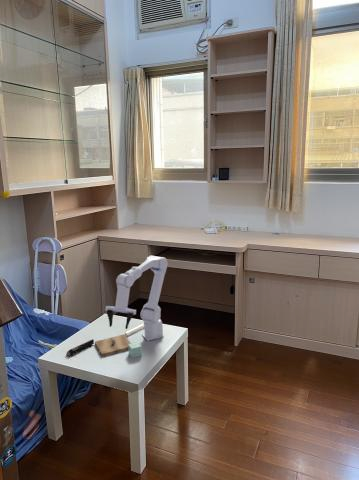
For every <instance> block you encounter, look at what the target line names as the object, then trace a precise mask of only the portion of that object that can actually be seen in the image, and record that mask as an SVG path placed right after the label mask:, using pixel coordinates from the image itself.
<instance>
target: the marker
mask: <svg viewBox="0 0 359 480" xmlns="http://www.w3.org/2000/svg"><path fill="white" fill-rule="evenodd" d="M142 329H144V323H142V324H140V325H137V326H136V327H134V328H132V329H130V330H128V331H126V332H125V333H124V335H126V337H129V336H131V335H133V334H134V333H135V334H136V332H139V331H140V330H142Z"/></svg>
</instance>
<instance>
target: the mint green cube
mask: <svg viewBox="0 0 359 480" xmlns="http://www.w3.org/2000/svg"><path fill="white" fill-rule="evenodd" d="M130 343H131V342H130ZM128 348H129V350H128V354H129V356H130V357H131V358H132V359H134V358H138V357H142V356H143V351H142V345H141V343H140V342H139V341H136V342H132V343H131V344H128Z"/></svg>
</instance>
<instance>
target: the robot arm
mask: <svg viewBox="0 0 359 480" xmlns="http://www.w3.org/2000/svg"><path fill="white" fill-rule="evenodd" d="M168 263H169V262H168V260H167V258H166V257H163V256H155V255H149V256H147V257H146V259H145V260H144V262H142V263H141V264H140V265H138V266H132V267H131V268H130V269H128V270H126V272H124V273H120V274H119V275H117V277H116V279H115V282H116V288H117V291H116V299H115V304H114V305H115V306H112V305H110V306H109V305H106V306H105V308H104V310H105V311H106V314H107V315H106V316H107V317H108V322H109V324H108V325H109V327H110V328H111V327H112V326H113V319H114V313H115V312H116V313H123V314H126V322H125V329H126V330H127V329H128V327H129V324H130V321H131V320H132V318H133V317H134V315H137V309H133V308H129V307H128V305H129V298H130V291H131V287H132V286H133V285H134V283H135V281H136V280H138V279H139V278H140V277H141V276H142V275H143V272H145V271H147V270H149V269H150V270H151V271H152V272H153V274H154V276H153V281H152V284H151V289H150V292H149V297H148V300H147V302H146V303H145V304H144V305H143V307H142V309H141V311H140V318H141V319H142V322H143V324H144V328H143V329H144V330H143V331H144V333H142V337H143V338H144V339H145V340H146V341H147V342H149V341H152V340H157V339H161V338H163V337H164V334H163V333H164V332H163V331H164V330H163V321H162V319H161V315H162V314H161V311H162V309H161V307H160V306H159V304H158V303H159V302H160V301H159V299H160V296H161V292H162V287H163V283H164V279H165V275H166V274H167V273H166V272H167V269H168Z"/></svg>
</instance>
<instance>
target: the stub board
mask: <svg viewBox="0 0 359 480" xmlns="http://www.w3.org/2000/svg"><path fill="white" fill-rule="evenodd" d="M127 337H128V336H125V334H120V335H116V336H113V337H107V338H104V339H101V340H96V341H95V340H94V345H95V347H96V349H97V351H98V352H99V354H100V355H101V358H103V357H106V356H111V355H114V354H118V353H121V352H125V351H129V348H128V344H131V341H130V340H129V339H128V338H127Z"/></svg>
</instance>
